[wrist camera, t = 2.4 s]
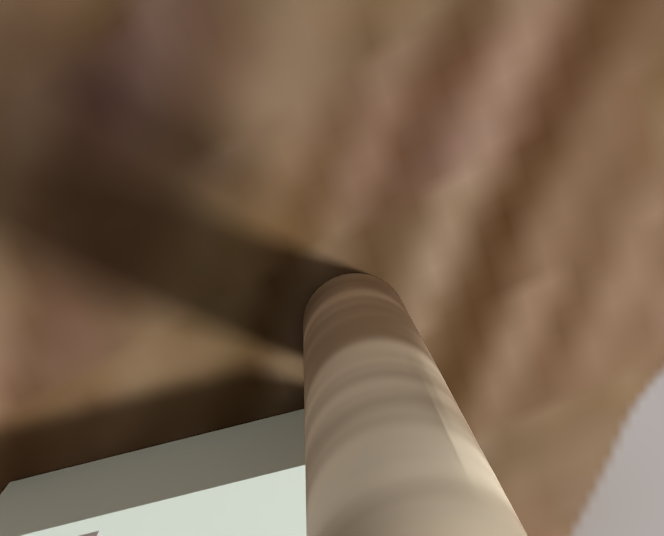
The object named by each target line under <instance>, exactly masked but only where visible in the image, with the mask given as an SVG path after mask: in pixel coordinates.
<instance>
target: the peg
mask: <svg viewBox="0 0 664 536" xmlns="http://www.w3.org/2000/svg"><path fill="white" fill-rule="evenodd" d="M303 357H304V417H305V477H306V536H527V534H526V532H525V530H524V528H523V527H522V525H521V523H520V521H519V519H518V517H517V515H516V514H515V512H514V510H513V508H512V506H511V504H510V502H509V500H508V499H507V497H506V495H505V493H504V491H503V489H502V487H501V486H500V484H499V482H498V480H497V478H496V476H495V474H494V472H493V471H492V469H491V467H490V465H489V463H488V461H487V459H486V458H485V456H484V454H483V452H482V450H481V448H480V446H479V444H478V443H477V441H476V439H475V437H474V435H473V433H472V431H471V430H470V428H469V426H468V424H467V422H466V420H465V418H464V416H463V415H462V413H461V411H460V409H459V407H458V405H457V403H456V402H455V400H454V398H453V396H452V394H451V392H450V390H449V388H448V387H447V385H446V383H445V381H444V379H443V377H442V375H441V373H440V372H439V370H438V368H437V366H436V364H435V362H434V360H433V359H432V357H431V355H430V353H429V351H428V349H427V347H426V345H425V344H424V342H423V340H422V338H421V336H420V334H419V332H418V331H417V329H416V327H415V325H414V323H413V321H412V319H411V317H410V316H409V314H408V312H407V310H406V308H405V306H404V304H403V303H402V301H401V299H400V297H399V296H398V294H397V293H396V291H395V290H394V289H393V288H392V287H391V286H390V285H389V284H387V283H386V282H384V281H383V280H381V279H379V278H377V277H374V276H372V275H368V274H362V273H349V274H344V275H340V276H337V277H335V278H332V279H330V280H329V281H327V282H325V283H324V284H323V285H321V286H320V287H319V288H318V289H317V290H316V291H315V292H314V294H313V295H312V296H311V298H310V299H309V301H308V303H307V306H306V308H305V312H304V316H303Z"/></svg>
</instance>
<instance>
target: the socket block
mask: <svg viewBox="0 0 664 536" xmlns="http://www.w3.org/2000/svg"><path fill="white" fill-rule="evenodd" d="M96 531H100V534H101V536H306V477H305V417H304V409H301V410H297V411H293V412H289V413H285V414H281V415H277V416H273V417H269V418H265V419H261V420H257V421H253V422H249V423H245V424H241V425H237V426H233V427H229V428H225V429H221V430H217V431H213V432H209V433H205V434H201V435H197V436H193V437H189V438H185V439H181V440H177V441H173V442H169V443H165V444H161V445H157V446H153V447H149V448H145V449H141V450H137V451H133V452H129V453H125V454H121V455H117V456H113V457H109V458H105V459H101V460H97V461H93V462H89V463H85V464H81V465H77V466H73V467H69V468H65V469H61V470H57V471H53V472H49V473H45V474H41V475H37V476H33V477H29V478H25V479H21V480H17V481H13V482H10V483H9V484H8V485H7V487H6V488H5V489H4V490H3V492H2V493H1V494H0V536H79V535H83V534H87V533H91V532H96Z"/></svg>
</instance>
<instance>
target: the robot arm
mask: <svg viewBox="0 0 664 536" xmlns="http://www.w3.org/2000/svg"><path fill="white" fill-rule="evenodd" d="M79 536H101V534H100V531H96V532H91V533H87V534H83V535H79Z"/></svg>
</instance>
